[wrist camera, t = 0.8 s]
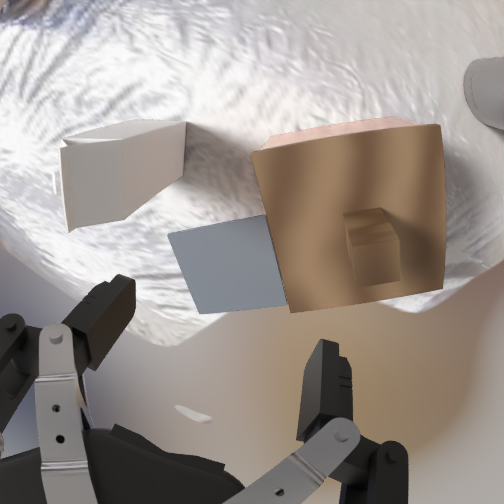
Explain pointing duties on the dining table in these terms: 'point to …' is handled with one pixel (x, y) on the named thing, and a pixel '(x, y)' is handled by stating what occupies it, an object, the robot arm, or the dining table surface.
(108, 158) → the milk carton
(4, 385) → the robot arm
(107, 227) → the dining table surface
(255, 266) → the mat
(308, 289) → the lid
